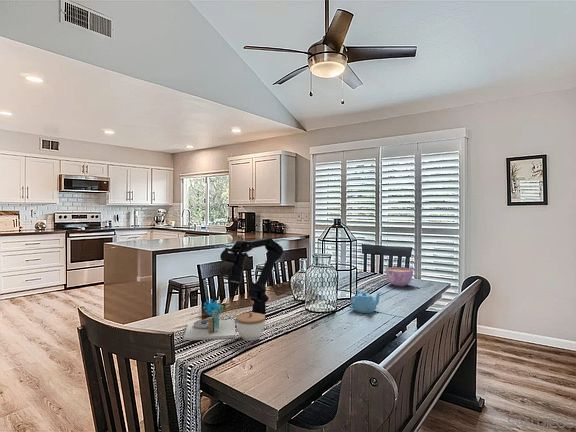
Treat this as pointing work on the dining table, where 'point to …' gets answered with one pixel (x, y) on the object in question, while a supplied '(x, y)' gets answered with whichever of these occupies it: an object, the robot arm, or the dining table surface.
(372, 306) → the teapot
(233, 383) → the dining table surface
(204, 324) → the flange plate
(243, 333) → the lidded bowl
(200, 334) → the clock board
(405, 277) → the bowl of food
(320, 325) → the dining table surface
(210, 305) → the gear
